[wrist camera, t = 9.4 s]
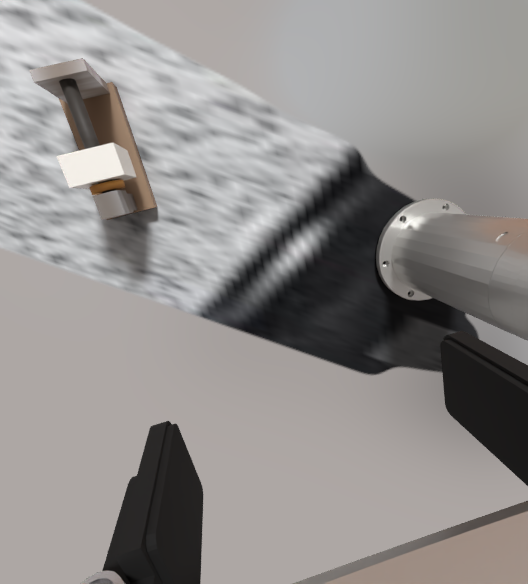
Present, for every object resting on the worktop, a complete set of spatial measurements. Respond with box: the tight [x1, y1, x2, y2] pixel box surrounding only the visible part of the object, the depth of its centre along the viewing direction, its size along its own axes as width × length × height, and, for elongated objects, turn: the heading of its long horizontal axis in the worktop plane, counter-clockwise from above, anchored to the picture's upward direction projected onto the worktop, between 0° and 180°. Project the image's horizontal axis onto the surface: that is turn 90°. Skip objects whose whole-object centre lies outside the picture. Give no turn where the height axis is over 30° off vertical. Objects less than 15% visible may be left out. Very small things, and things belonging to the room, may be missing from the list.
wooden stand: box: [29, 58, 157, 220], centre depth 29 cm, size 5×12×8 cm, turn 14°
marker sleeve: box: [57, 143, 136, 189], centre depth 28 cm, size 4×2×4 cm, turn 104°
